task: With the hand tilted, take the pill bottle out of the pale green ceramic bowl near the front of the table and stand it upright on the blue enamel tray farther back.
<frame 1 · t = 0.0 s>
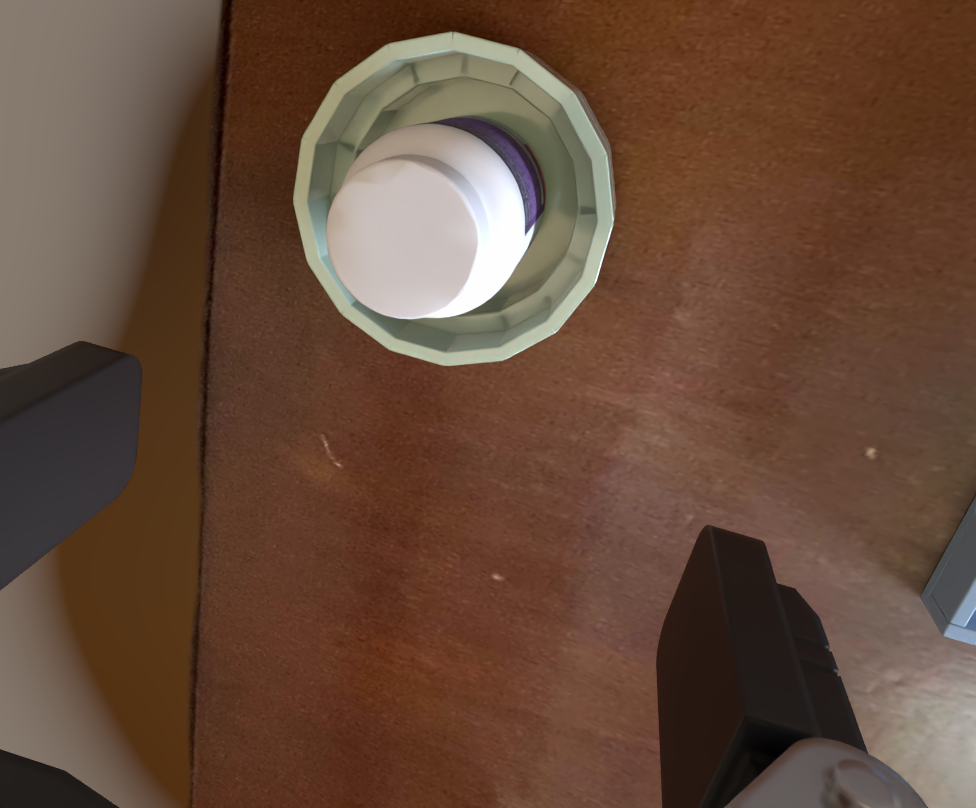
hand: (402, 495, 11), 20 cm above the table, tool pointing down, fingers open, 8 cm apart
pill bottle: (474, 194, 29), resting on bowl
bowl: (474, 194, 29), on the table
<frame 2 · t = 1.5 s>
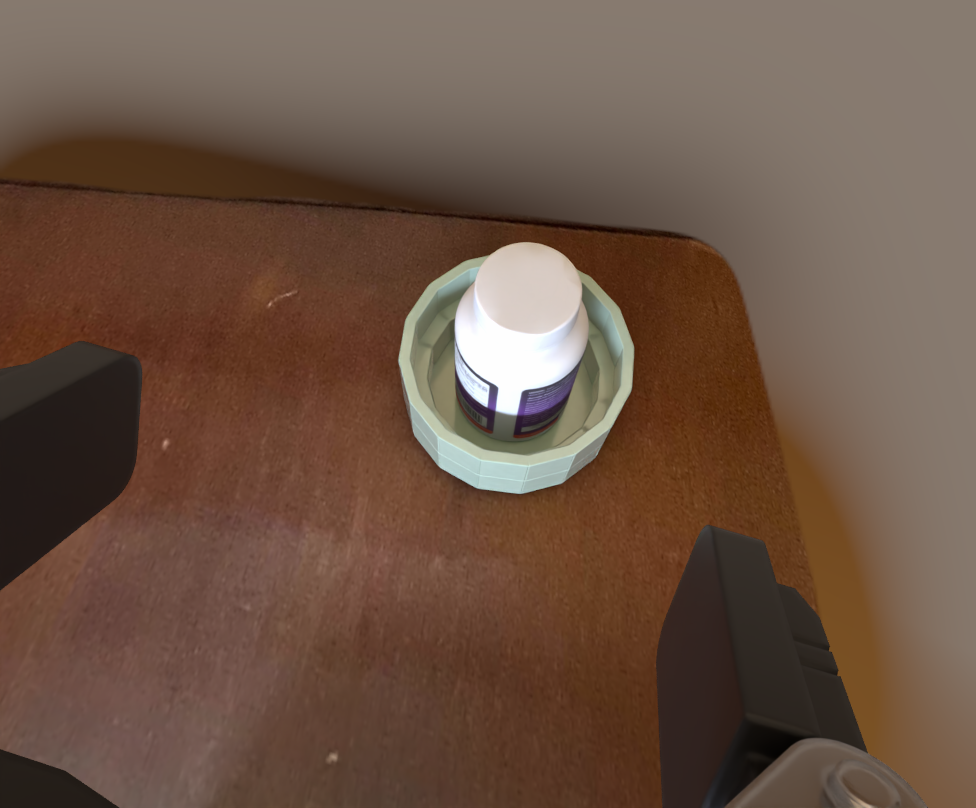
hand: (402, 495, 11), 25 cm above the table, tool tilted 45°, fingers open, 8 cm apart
pill bottle: (510, 392, 39), resting on bowl
bowl: (510, 393, 39), on the table
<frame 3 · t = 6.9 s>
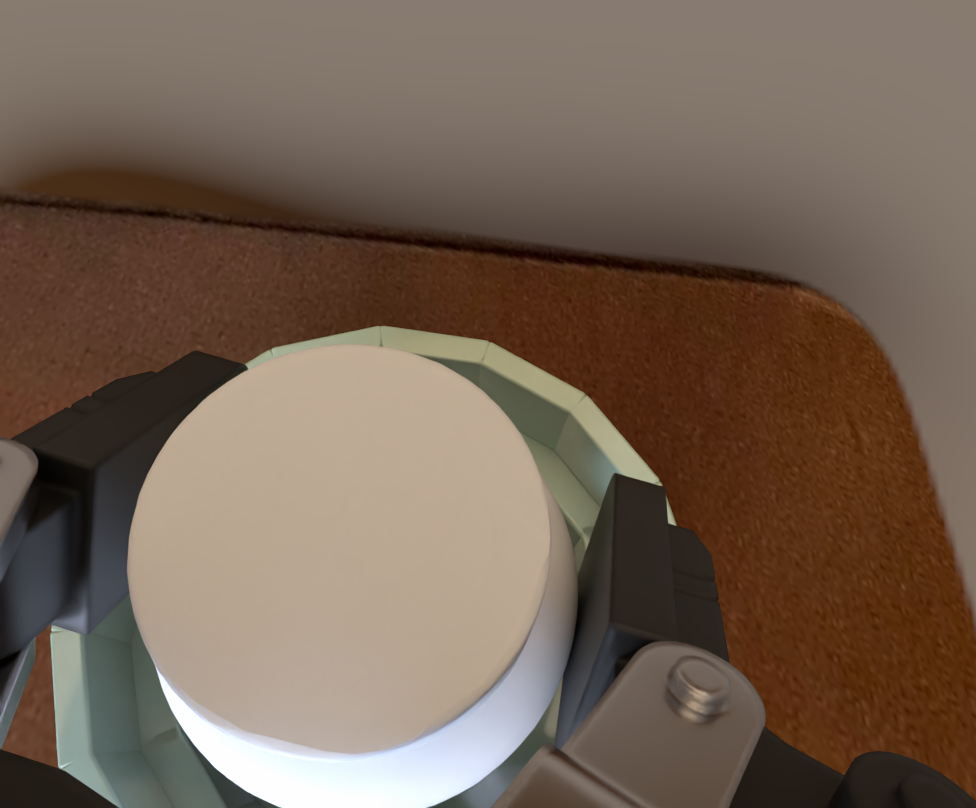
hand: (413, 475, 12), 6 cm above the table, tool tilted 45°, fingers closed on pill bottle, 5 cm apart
pill bottle: (399, 642, 17), resting on bowl, touching gripper
bowl: (399, 642, 17), on the table
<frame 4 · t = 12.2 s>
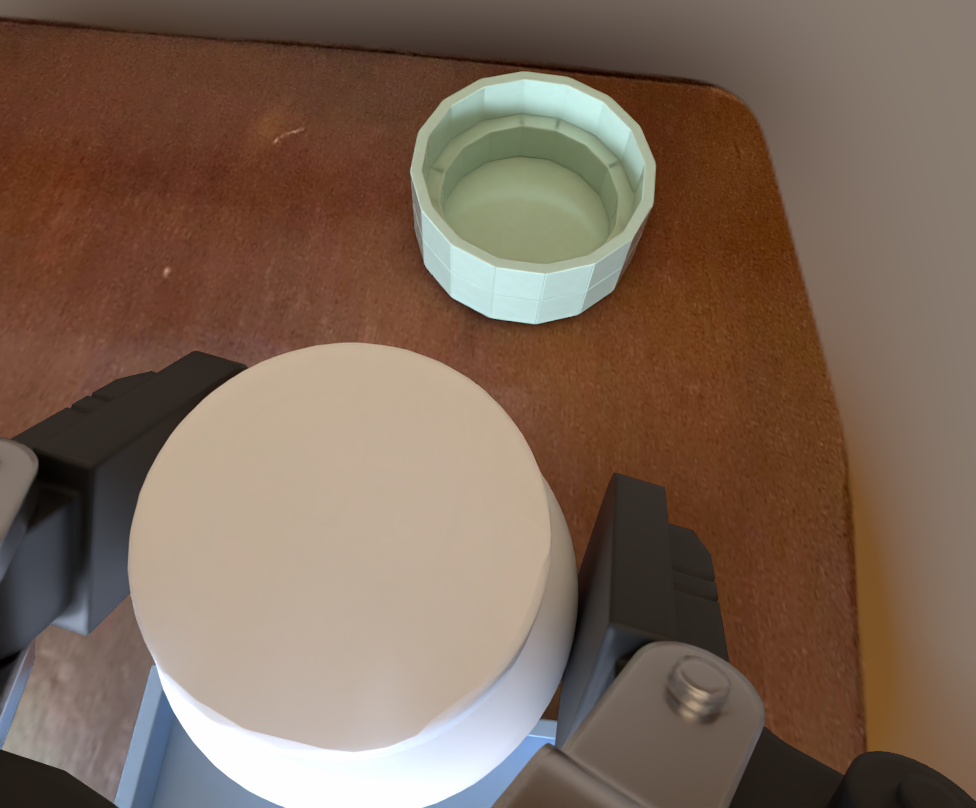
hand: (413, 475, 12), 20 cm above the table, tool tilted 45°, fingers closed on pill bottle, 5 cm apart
pill bottle: (399, 641, 17), point 14 cm above the table, touching gripper
bowl: (525, 229, 37), on the table
when the fingers open (6 cm above the table, at t = 17.4 s): pill bottle stays where it is, resting on tray.
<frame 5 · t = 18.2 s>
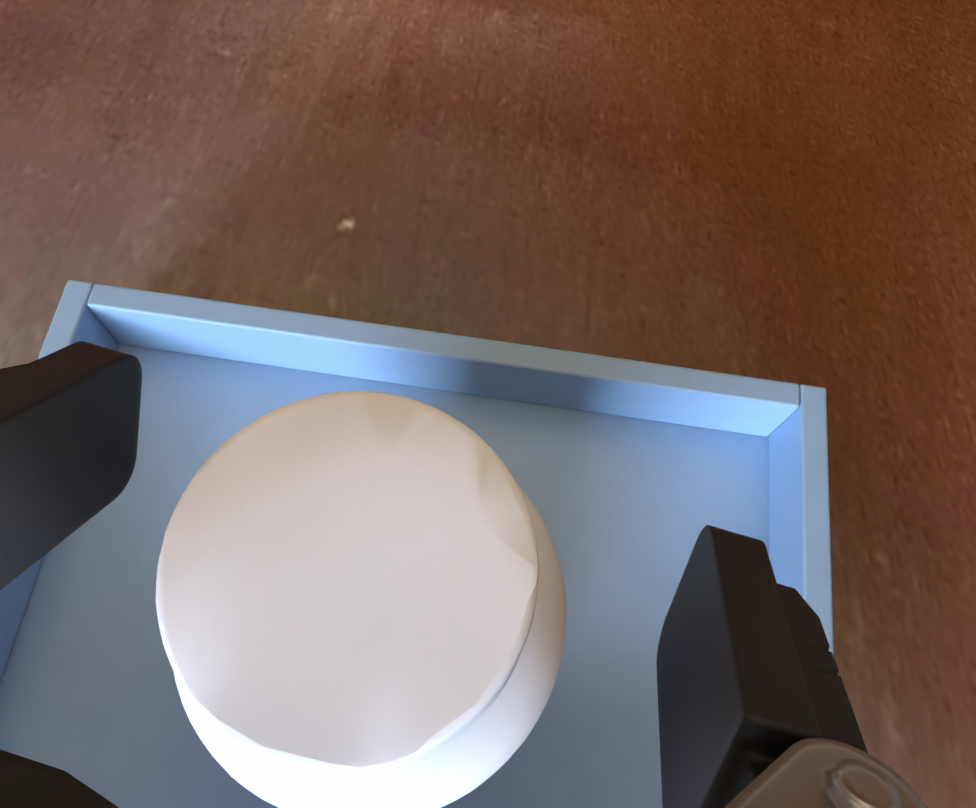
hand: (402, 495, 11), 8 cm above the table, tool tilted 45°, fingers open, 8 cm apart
pill bottle: (400, 653, 17), resting on tray
tray: (400, 646, 18), on the table
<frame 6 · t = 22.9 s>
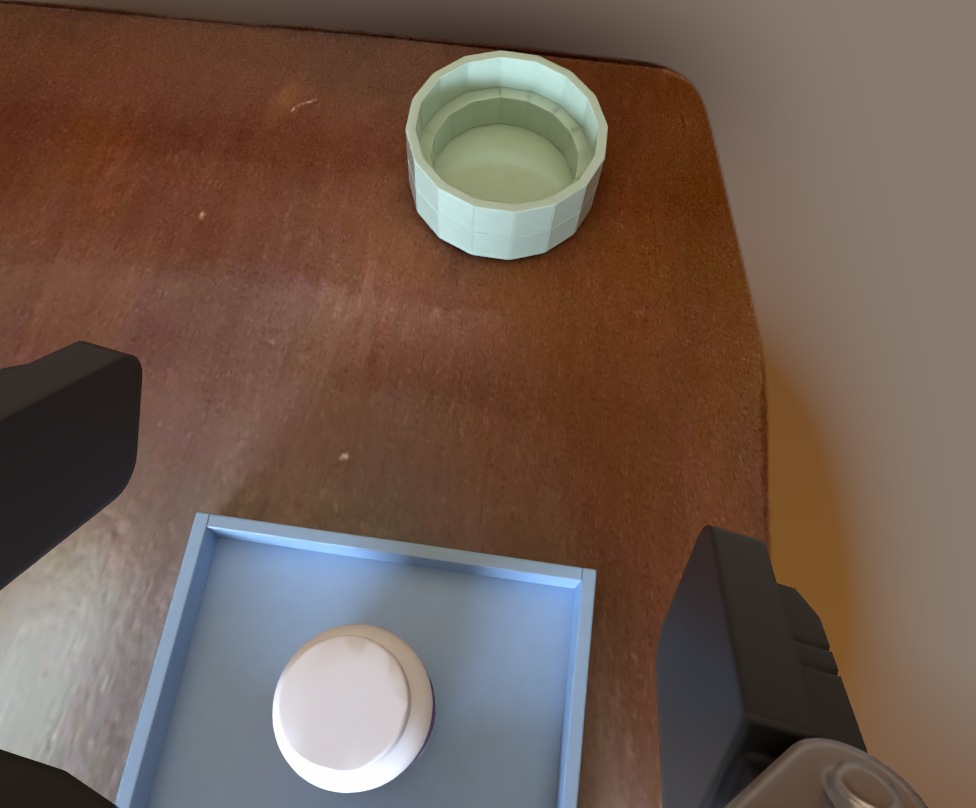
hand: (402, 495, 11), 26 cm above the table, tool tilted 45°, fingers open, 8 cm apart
pill bottle: (371, 710, 34), resting on tray
bowl: (501, 184, 44), on the table
tray: (371, 706, 34), on the table
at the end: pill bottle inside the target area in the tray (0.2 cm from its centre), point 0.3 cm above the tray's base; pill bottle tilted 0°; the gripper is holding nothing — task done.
